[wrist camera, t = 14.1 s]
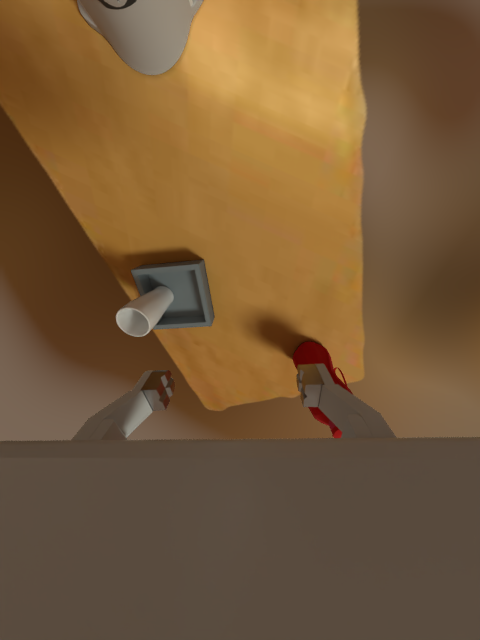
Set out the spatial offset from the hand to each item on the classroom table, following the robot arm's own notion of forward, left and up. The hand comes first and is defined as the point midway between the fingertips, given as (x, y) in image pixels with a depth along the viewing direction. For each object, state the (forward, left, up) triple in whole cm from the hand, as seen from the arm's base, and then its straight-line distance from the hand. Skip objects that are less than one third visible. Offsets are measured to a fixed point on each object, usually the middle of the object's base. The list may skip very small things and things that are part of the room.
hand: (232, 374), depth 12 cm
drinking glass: (+7, -22, -36) cm, 43 cm away
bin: (+7, -18, -37) cm, 42 cm away
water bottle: (+29, +18, -37) cm, 51 cm away
